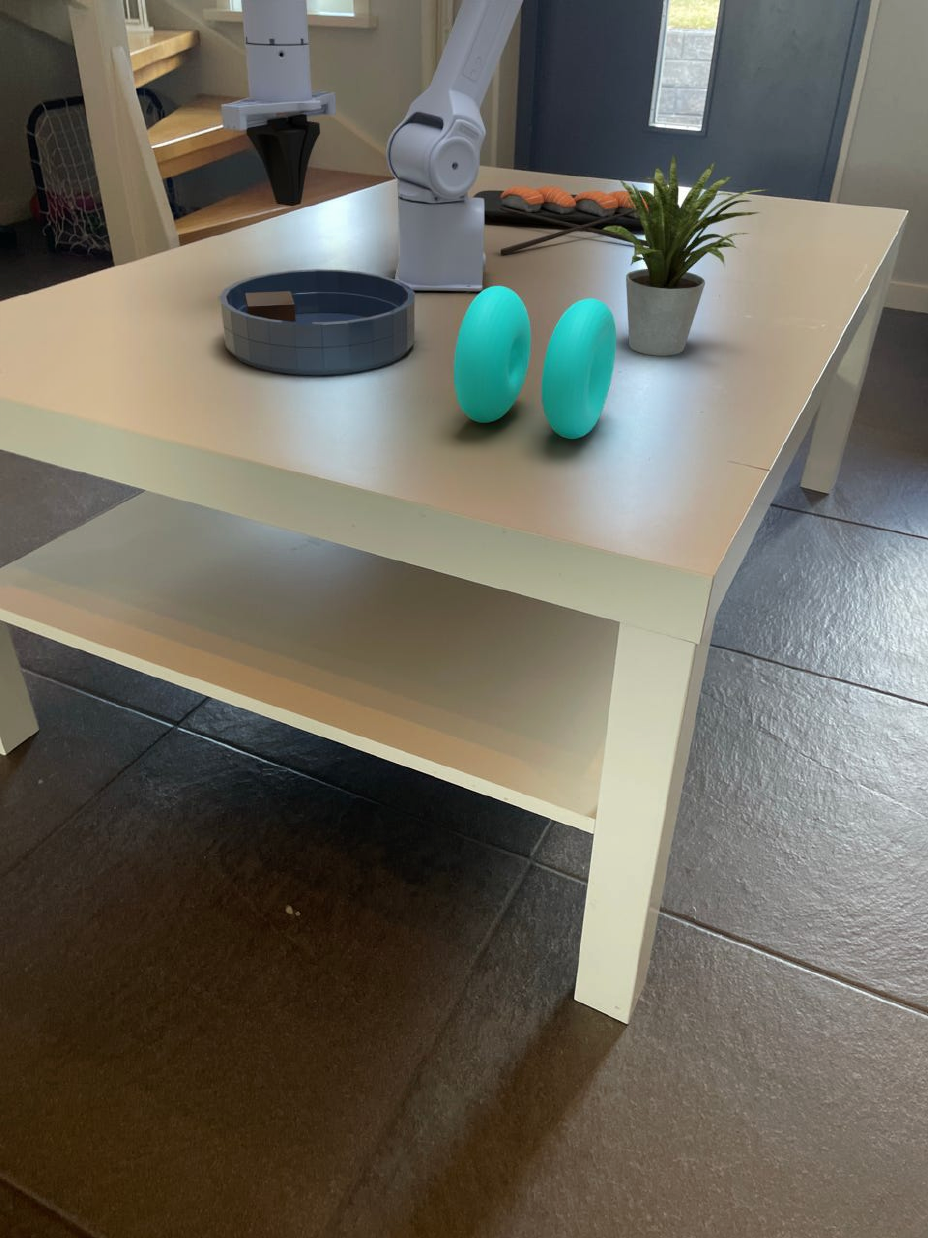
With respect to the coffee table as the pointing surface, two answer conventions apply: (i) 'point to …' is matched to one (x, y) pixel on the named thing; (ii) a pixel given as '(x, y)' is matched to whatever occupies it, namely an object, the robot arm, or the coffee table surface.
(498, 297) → the donuts
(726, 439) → the coffee table surface
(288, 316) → the block
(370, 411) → the coffee table surface
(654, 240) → the house plant
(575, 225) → the sushi plate
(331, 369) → the bowl
